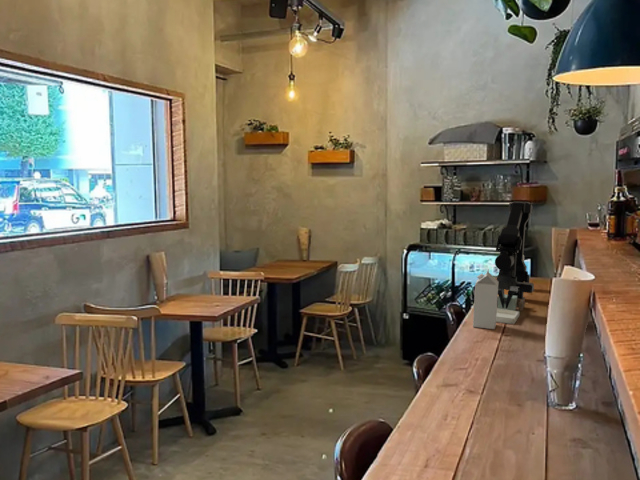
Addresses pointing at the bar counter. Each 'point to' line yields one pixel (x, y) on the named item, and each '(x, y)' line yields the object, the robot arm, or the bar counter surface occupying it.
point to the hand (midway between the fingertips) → (504, 308)
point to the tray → (507, 316)
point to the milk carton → (485, 301)
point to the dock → (518, 304)
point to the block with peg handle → (511, 305)
